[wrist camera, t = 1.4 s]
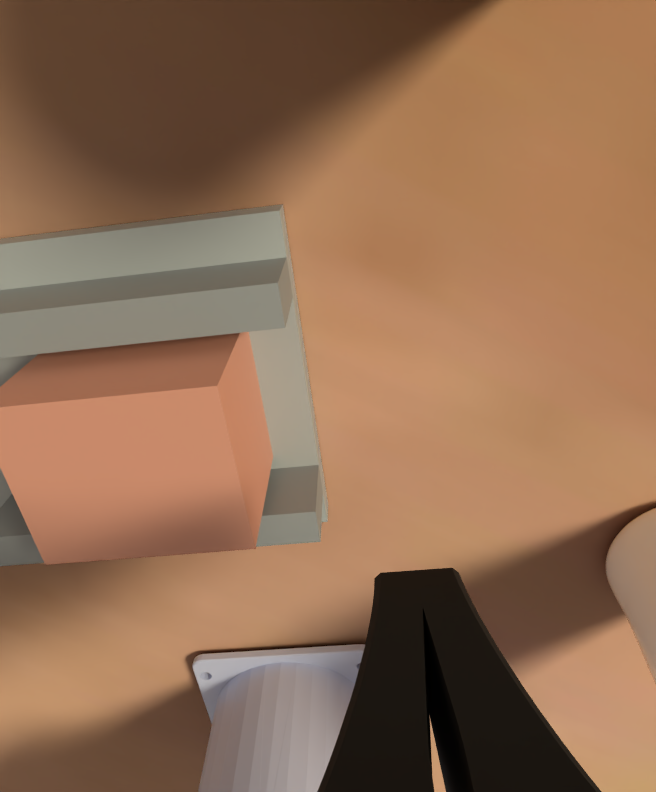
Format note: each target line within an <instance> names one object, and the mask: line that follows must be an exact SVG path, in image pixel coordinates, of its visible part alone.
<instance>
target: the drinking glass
mask: <svg viewBox="0 0 656 792" xmlns="http://www.w3.org/2000/svg"><path fill="white" fill-rule="evenodd" d="M606 575H607V579H608V582H609V585H610V587H611V589H612V591H613V593H614V595H615V597H616V599H617V601H618V603H619V604H620V606H621V608H622V610H623V612H624V614H625V616H626V618H627V620H628V622H629V624H630V626H631V629H632V631H633V633H634V635H635V638H636V640H637V642H638V645H639V647H640V649H641V652H642V654H643V656H644V659H645V661H646V663H647V666H648V668H649V670H650V673H651V675H652V677H653V680H654V682H655V684H656V508H654V509H651V510H649V511H647V512H645V513H643V514H641V515H640V516H638V517H636V518H635V519H633V520H632V521H631V522H630V523H628V524H627V525H626V526H625V527H624V528H623V529H622V530H621V531H620V532H619V533H618V535H617V536H616V537H615V539H614V540H613V542H612V544H611V546H610V548H609V550H608V553H607V557H606Z"/></svg>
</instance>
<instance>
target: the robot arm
mask: <svg viewBox="0 0 656 792" xmlns="http://www.w3.org/2000/svg"><path fill="white" fill-rule="evenodd" d="M192 667H193V671H194V674H195V677H196V680H197V683H198V686H199V688H200V691H201V694H202V697H203V700H204V703H205V706H206V709H207V712H208V715H209V718H210V721H211V723H212V727H211V732H210V737H209V741H208V746H207V751H206V756H205V761H204V765H203V770H202V775H201V780H200V785H199V789H198V792H434V787H433V780H432V762H431V740H430V719H431V724H432V728H433V733H434V738H435V742H436V747H437V751H438V756H439V761H440V765H441V770H442V774H443V779H444V784H445V788H446V792H601V791H600V789H599V788H598V787H597V786H596V784H595V783H594V782H593V781H592V780H591V778H590V777H589V776H588V775H587V773H586V772H585V771H584V769H583V768H582V767H581V766H580V764H579V763H578V762H577V760H576V759H575V758H574V757H573V755H572V754H571V753H570V751H569V750H568V749H567V747H566V746H565V745H564V743H563V742H562V741H561V739H560V738H559V737H558V735H557V734H556V733H555V731H554V730H553V728H552V727H551V726H550V724H549V723H548V721H547V720H546V719H545V717H544V716H543V715H542V713H541V712H540V710H539V709H538V708H537V706H536V705H535V703H534V702H533V700H532V699H531V697H530V696H529V695H528V693H527V692H526V690H525V689H524V687H523V686H522V684H521V683H520V681H519V680H518V678H517V676H516V675H515V673H514V672H513V670H512V669H511V667H510V666H509V664H508V663H507V661H506V659H505V658H504V656H503V655H502V653H501V652H500V650H499V648H498V647H497V645H496V644H495V642H494V640H493V639H492V637H491V635H490V633H489V632H488V630H487V628H486V626H485V625H484V623H483V621H482V620H481V618H480V616H479V614H478V612H477V610H476V609H475V607H474V605H473V603H472V601H471V599H470V597H469V595H468V593H467V591H466V589H465V587H464V584H463V582H462V580H461V577H460V575H459V573H458V572H457V571H456V570H454V569H453V568H443V569H429V570H415V571H401V572H387V573H380V574H379V575H378V576H377V577H376V578H375V584H374V599H373V607H372V614H371V619H370V625H369V630H368V634H367V639H366V644H353V645H337V646H321V647H305V648H289V649H273V650H258V651H242V652H226V653H210V654H200V655H198V656H196V657H195V659H194V661H193V665H192ZM429 714H430V718H429Z"/></svg>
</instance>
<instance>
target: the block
mask: <svg viewBox="0 0 656 792" xmlns="http://www.w3.org/2000/svg"><path fill="white" fill-rule="evenodd" d="M272 460H273V453H272V448H271V443H270V438H269V432H268V427H267V422H266V417H265V412H264V407H263V402H262V397H261V392H260V387H259V382H258V376H257V371H256V366H255V361H254V356H253V351H252V346H251V341H250V336H249V332H242V333H233V334H223V335H214V336H204V337H195V338H185V339H176V340H166V341H157V342H148V343H138V344H129V345H119V346H110V347H100V348H91V349H81V350H72V351H62V352H53V353H43V354H38V355H37V356H36V357H34V358H33V359H32V360H31V361H30V362H29V363H27V364H26V365H25V366H24V367H23V368H22V369H21V370H19V371H18V372H17V373H16V374H15V375H14V376H12V377H11V378H10V379H9V380H8V381H7V382H5V383H4V384H3V385H2V386H1V387H0V468H1V470H2V472H3V475H4V477H5V479H6V481H7V483H8V485H9V488H10V490H11V492H12V494H13V496H14V498H15V501H16V503H17V505H18V507H19V509H20V511H21V514H22V516H23V518H24V520H25V522H26V524H27V526H28V529H29V531H30V533H31V535H32V537H33V539H34V542H35V544H36V546H37V548H38V550H39V552H40V555H41V557H42V559H43V561H44V563H45V565H49V564H62V563H75V562H88V561H101V560H114V559H128V558H141V557H154V556H167V555H180V554H193V553H206V552H219V551H232V550H246V549H256V544H257V538H258V533H259V528H260V523H261V518H262V512H263V507H264V502H265V497H266V492H267V486H268V481H269V476H270V471H271V466H272Z"/></svg>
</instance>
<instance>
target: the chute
mask: <svg viewBox="0 0 656 792" xmlns="http://www.w3.org/2000/svg"><path fill="white" fill-rule="evenodd" d="M242 332H249V336H250V341H251V346H252V351H253V356H254V361H255V366H256V371H257V376H258V382H259V387H260V392H261V397H262V402H263V407H264V412H265V417H266V422H267V427H268V432H269V438H270V443H271V448H272V453H273V460H272V466H271V471H270V476H269V481H268V486H267V492H266V497H265V502H264V507H263V512H262V518H261V523H260V528H259V533H258V538H257V544H256V547H258V546H271V545H284V544H297V543H310V542H321V522H327V519H328V501H327V494H326V487H325V481H324V474H323V467H322V461H321V454H320V448H319V441H318V434H317V428H316V421H315V414H314V408H313V401H312V395H311V388H310V381H309V375H308V368H307V361H306V355H305V348H304V342H303V335H302V328H301V322H300V315H299V308H298V302H297V295H296V288H295V282H294V275H293V269H292V262H291V255H290V249H289V242H288V235H287V229H286V222H285V216H284V209H283V204H281V205H273V206H265V207H256V208H248V209H240V210H232V211H224V212H216V213H207V214H199V215H191V216H183V217H175V218H166V219H158V220H150V221H142V222H134V223H125V224H117V225H109V226H101V227H93V228H85V229H76V230H68V231H60V232H52V233H44V234H35V235H27V236H19V237H11V238H3V239H0V387H1V386H2V385H3V384H4V383H5V382H7V381H8V380H9V379H10V378H11V377H12V376H14V375H15V374H16V373H17V372H18V371H19V370H21V369H22V368H23V367H24V366H25V365H26V364H27V363H29V362H30V361H31V360H32V359H33V358H34V357H36V356H37V355H38V354H43V353H53V352H62V351H72V350H81V349H91V348H100V347H110V346H119V345H129V344H138V343H148V342H157V341H166V340H176V339H185V338H195V337H204V336H214V335H223V334H233V333H242ZM36 563H44V561H43V559H42V557H41V555H40V552H39V550H38V548H37V546H36V544H35V542H34V539H33V537H32V535H31V533H30V531H29V529H28V526H27V524H26V522H25V520H24V518H23V516H22V514H21V511H20V509H19V507H18V505H17V503H16V501H15V498H14V496H13V494H12V492H11V490H10V488H9V485H8V483H7V481H6V479H5V477H4V475H3V472H2V470H1V468H0V566H10V565H23V564H36Z"/></svg>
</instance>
